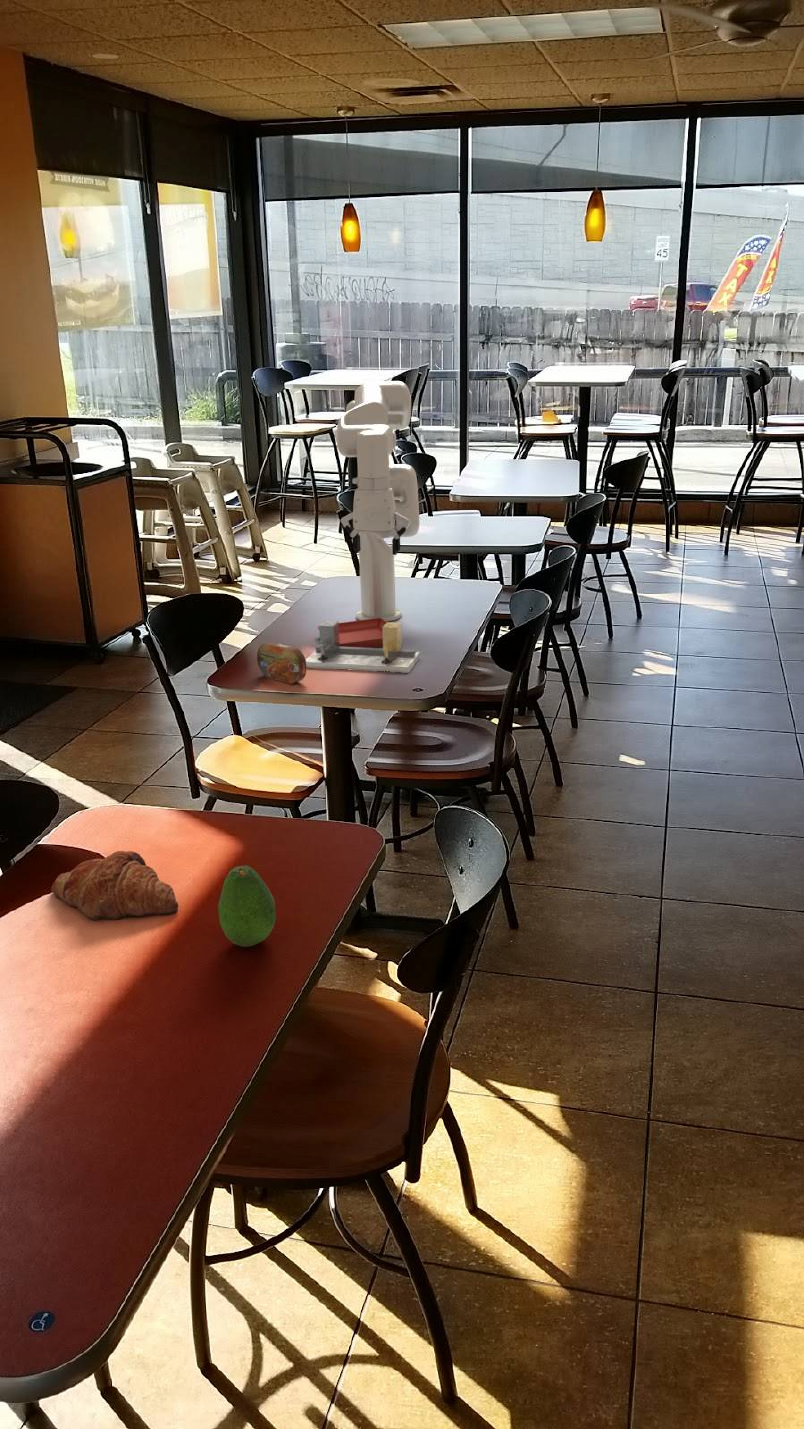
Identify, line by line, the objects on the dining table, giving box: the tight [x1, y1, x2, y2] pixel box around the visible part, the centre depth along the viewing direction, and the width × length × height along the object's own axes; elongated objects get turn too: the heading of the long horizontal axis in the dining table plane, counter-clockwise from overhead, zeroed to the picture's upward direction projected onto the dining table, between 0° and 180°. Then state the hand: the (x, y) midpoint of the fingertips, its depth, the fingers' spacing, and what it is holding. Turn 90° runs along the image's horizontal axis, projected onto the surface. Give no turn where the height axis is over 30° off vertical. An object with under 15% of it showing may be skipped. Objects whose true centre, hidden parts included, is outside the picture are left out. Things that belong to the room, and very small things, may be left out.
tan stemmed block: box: [382, 621, 403, 661], centre depth 276 cm, size 9×4×7 cm, turn 166°
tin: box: [256, 642, 307, 685], centre depth 267 cm, size 15×3×8 cm, turn 47°
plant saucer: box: [316, 618, 388, 648], centre depth 296 cm, size 18×18×3 cm
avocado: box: [217, 864, 277, 948], centre depth 158 cm, size 8×8×12 cm
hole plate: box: [305, 620, 421, 674], centre depth 277 cm, size 12×26×9 cm, turn 76°
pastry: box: [51, 850, 179, 921], centre depth 171 cm, size 17×15×8 cm
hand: (376, 552), depth 281 cm, fingers open, 9 cm apart
